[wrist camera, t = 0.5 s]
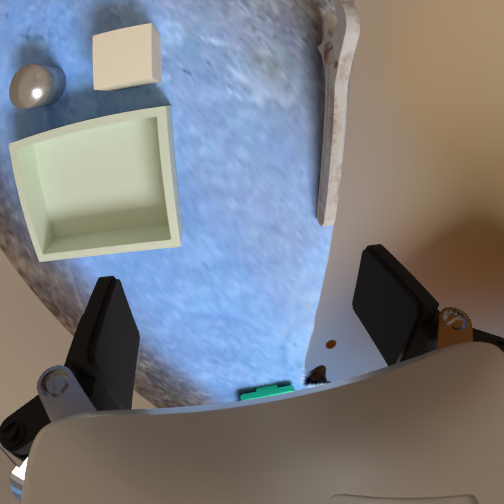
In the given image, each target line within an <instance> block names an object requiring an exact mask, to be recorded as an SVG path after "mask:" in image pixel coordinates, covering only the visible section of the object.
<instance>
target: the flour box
mask: <svg viewBox="0 0 504 504" xmlns="http://www.w3.org/2000/svg"><path fill="white" fill-rule="evenodd" d="M93 82H94V90H110V91H114V90H119V89H124V88H129V87H135V86H141V85H147V84H154V83H161V82H162V79H161V37H160V35H159V34H158V32H157V31H156V29H155V28H154V26H153V25H152V23H148V24H142V25H137V26H132V27H127V28H122V29H117V30H113V31H109V32H105V33H101V34H97V35H94V36H93Z"/></svg>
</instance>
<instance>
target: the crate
mask: <svg viewBox="0 0 504 504" xmlns="http://www.w3.org/2000/svg"><path fill="white" fill-rule="evenodd" d="M9 149H10V155H11V161H12V166H13V171H14V176H15V181H16V185H17V190H18V194H19V198H20V202H21V206H22V209H23V213H24V217H25V220H26V223H27V227H28V230H29V233H30V236H31V239H32V242H33V245H34V248H35V251H36V254H37V257H38V259H39V262H43V261H51V260H60V259H69V258H77V257H86V256H95V255H104V254H114V253H123V252H132V251H142V250H151V249H161V248H171V247H181V240H182V230H183V225H182V218H181V210H180V201H179V192H178V183H177V173H176V163H175V152H174V140H173V126H172V111H171V105H168V106H160V107H153V108H146V109H140V110H134V111H128V112H123V113H117V114H112V115H107V116H103V117H98V118H94V119H89V120H85V121H81V122H77V123H73V124H69V125H66V126H62V127H58V128H55V129H52V130H48V131H45V132H42V133H39V134H36V135H33V136H30V137H27V138H24V139H21V140H18V141H16V142H13V143H10V144H9Z"/></svg>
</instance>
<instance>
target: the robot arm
mask: <svg viewBox="0 0 504 504" xmlns="http://www.w3.org/2000/svg"><path fill="white" fill-rule="evenodd" d="M352 305H353V309H354V311H355V313H356V315H357V316H358V318H359V319H360V321H361V322H362V324H363V325H364V327H365V329H366V330H367V332H368V333H369V335H370V337H371V338H372V340H373V341H374V343H375V345H376V346H377V348H378V350H379V351H380V353H381V354H382V356H383V358H384V359H385V361H386V363H387V364H388V367H385V368H382V369H379V370H376V371H372V372H369V373H366V374H362V375H359V376H355V377H352V378H348V379H344V380H340V381H337V382H333V383H329V384H325V385H321V386H316V387H312V388H308V389H303V390H298V391H294V392H289V393H284V394H278V395H273V396H267V397H261V398H255V399H249V400H242V401H235V402H228V403H219V404H210V405H200V406H189V407H175V408H158V409H135V410H134V409H133V410H132V409H131V407H132V396H133V387H134V378H135V370H136V362H137V355H138V348H139V341H140V336H139V331H138V329H137V326H136V323H135V321H134V318H133V316H132V313H131V310H130V307H129V305H128V302H127V299H126V296H125V293H124V290H123V287H122V284H121V282H120V280H119V279H116V278H115V277H114V276H107V277H100V278H99V279H98V281H97V283H96V285H95V288H94V290H93V292H92V295H91V297H90V300H89V302H88V305H87V307H86V310H85V312H84V314H83V315H82V317H81V319H80V322H79V324H78V327H77V330H76V332H75V335H74V338H73V341H72V344H71V347H70V349H69V353H68V355H67V358H66V362H65V365H64V366H61V365H57V366H53V367H50V368H48V369H47V370H46V371H44V372H43V373H42V375H41V376H40V378H39V380H38V382H37V391H38V394H39V395H37V396H36V397H35V398H33V399H32V400H31V401H29V402H28V403H26V404H25V405H24V406H22V407H21V408H20V409H18V410H17V411H16V412H14V413H13V414H11V415H10V416H9V417H7V418H6V419H5V420H4V421H3V423H2V424H1V426H0V504H504V338H501V337H499V336H495V335H492V334H489V333H486V332H483V331H480V330H477V329H474V328H472V322H471V319H470V317H469V316H468V315H467V314H466V313H465V312H464V311H462V310H461V309H458V308H456V307H445V308H443V309H442V310H441V311H440V312H439V310H438V309H437V308H438V306H439V303H438V302H437V301H436V300H435V299H434V298H433V296H432V295H431V294H430V293H429V292H428V291H427V290H426V289H425V288H424V287H423V286H422V285H421V284H420V283H419V282H418V281H417V280H416V278H415V277H414V276H413V275H412V274H411V273H410V272H409V271H408V270H407V269H406V268H405V267H404V266H403V265H402V264H401V263H400V262H399V261H398V260H397V259H396V258H395V257H394V256H393V255H392V254H391V253H390V252H389V251H388V250H387V249H386V248H384V247H383V246H382V245H381V244H377V245H369V246H367V247H366V249H365V250H363V252H362V257H361V262H360V267H359V273H358V278H357V283H356V288H355V293H354V297H353V303H352Z"/></svg>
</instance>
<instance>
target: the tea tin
mask: <svg viewBox="0 0 504 504" xmlns="http://www.w3.org/2000/svg"><path fill="white" fill-rule="evenodd" d="M65 86H66V76H65V73H64V72H63V70H62V69H60V68H58V67H54V66H46V65H36V64H28V65H25V66H23V67H22V68H21V69H19V70H18V71H17V73H16V74H15V75H14V77H13V79H12V81H11V84H10V90H9V95H10V100H11V102H12V104H13V105H14V106H15V107H17V108H19V109H25V108H31V107H38V106H44V105H50V104H53V103H54V102H56V101H57V100H58V99H59V98H60V97H61V96H62V94H63V92H64V90H65Z"/></svg>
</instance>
